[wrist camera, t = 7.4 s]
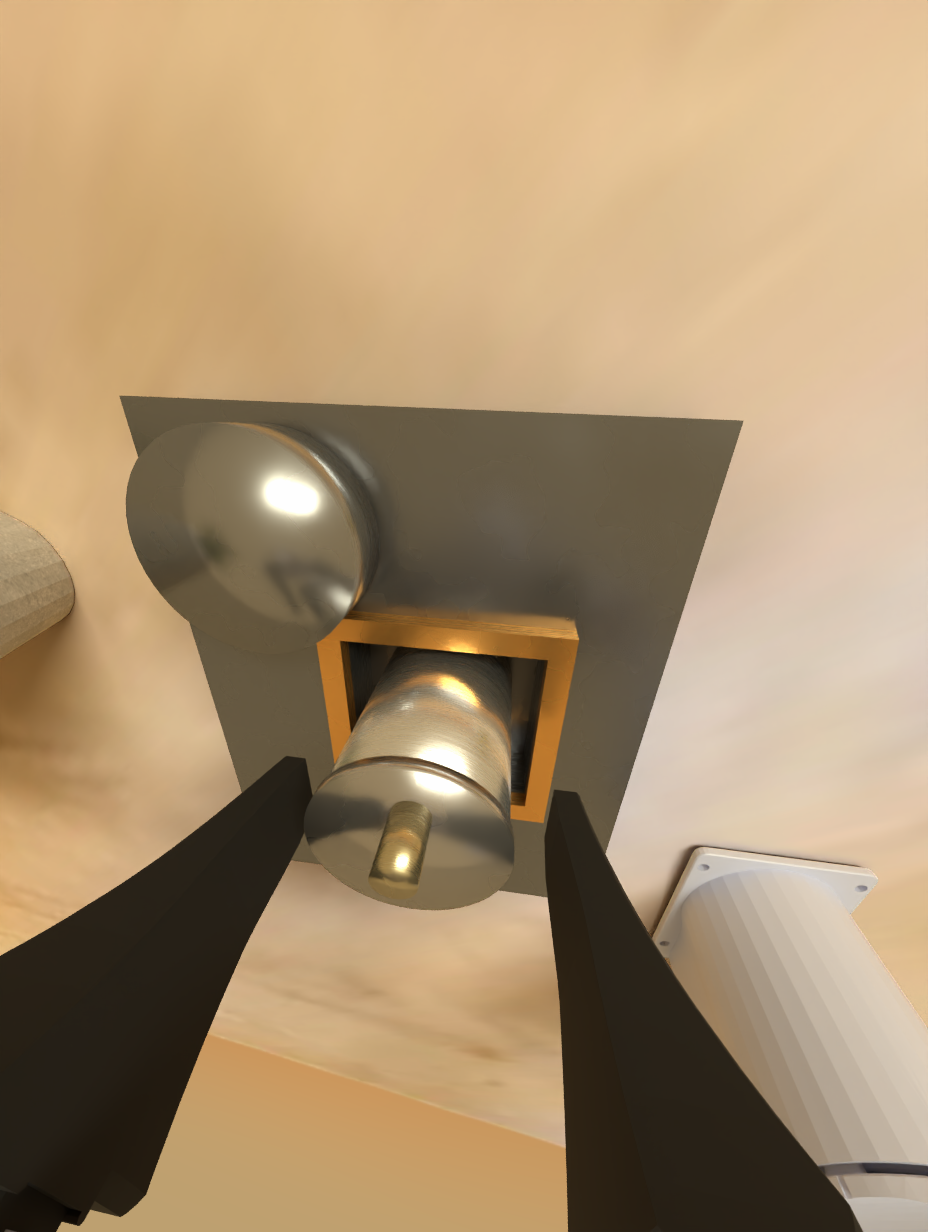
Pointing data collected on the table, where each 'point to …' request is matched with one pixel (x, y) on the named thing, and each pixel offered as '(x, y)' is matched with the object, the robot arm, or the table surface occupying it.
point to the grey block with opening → (428, 572)
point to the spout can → (423, 785)
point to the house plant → (29, 585)
